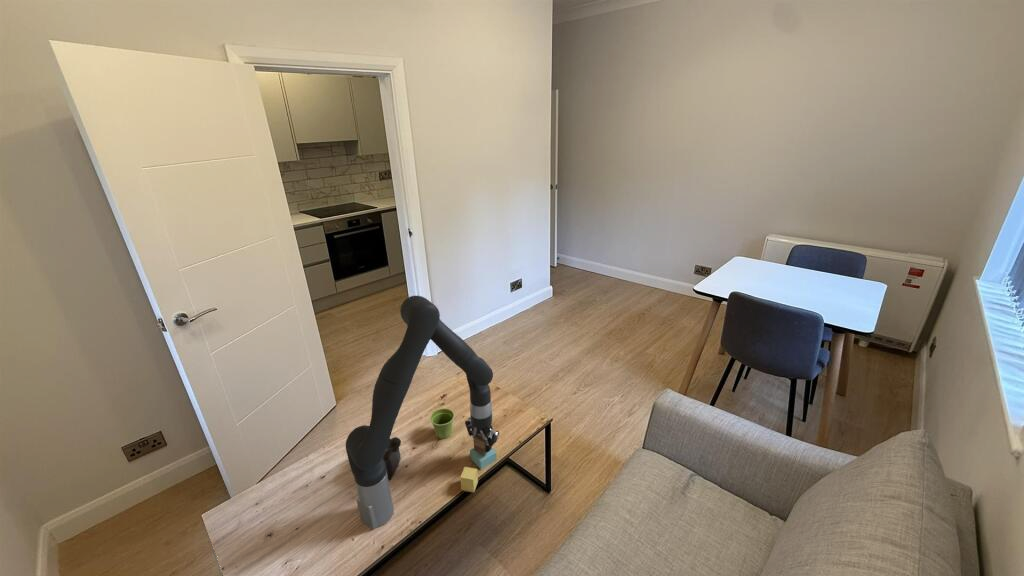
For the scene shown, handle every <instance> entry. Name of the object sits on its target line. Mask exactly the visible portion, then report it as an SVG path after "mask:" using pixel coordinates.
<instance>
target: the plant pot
mask: <svg viewBox="0 0 1024 576" xmlns="http://www.w3.org/2000/svg"><path fill="white" fill-rule="evenodd" d="M454 418H455V412H454V411H453V410H452V409H449V408H445V407H443V408H439V409H436V410H434V411H433V412H432V413H431V414H430V417H429V420H430V422H431V424H432V425H433V429H434V432H435V436H436V437H437V438H439V439H447V438H448V437H450V436H451V435H452V433H453V432H452V431H453V422H454Z"/></svg>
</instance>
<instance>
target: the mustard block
mask: <svg viewBox="0 0 1024 576" xmlns="http://www.w3.org/2000/svg"><path fill="white" fill-rule="evenodd" d="M478 473H479V472H478V468H474V467H468V466H464V467H463V471H462V472H461V475H460V490H461V491H463V492H469V493H475V491H476V488H477V486H478V483H479V475H478Z"/></svg>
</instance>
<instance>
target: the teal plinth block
mask: <svg viewBox="0 0 1024 576" xmlns="http://www.w3.org/2000/svg"><path fill="white" fill-rule="evenodd" d="M469 458H470V459H471V460H472V462H473V463H475V465H476V466H477V467H478V468H479V469H480V470H481V471H482V470H483V469H485V468H486V467H488V466H489V465H491V464H492V463H494V462H496V461H497V452H496V450H494V448H493V447H492V449H491V450H490V451H489V452H488V453H486V454H485V455H482V454H480V453H479V452H477V451H475V450H474V447H473V448H471V449H470V450H469Z"/></svg>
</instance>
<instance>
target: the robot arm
mask: <svg viewBox="0 0 1024 576" xmlns="http://www.w3.org/2000/svg"><path fill="white" fill-rule="evenodd" d="M399 309H400V310H399V311H400V316H401V319H402V321H403V323H405V325H406V331H405V334H404V336H403V339H402V341H401V343H400V345H399V347H398V348H397V350H396V351H395V352H394V353H393V354H392V355H391V356H390V357H389V358H388V359H387V360H386V361H385V363H384V364H383V365H382V368H381V369H380V371H379V374H378V376H377V380H375V384H374V387H373V390H372V391H373V393H372V401H371V402H372V404H371V415H370V423H369V425H365V424H364V425H360V426H358V427H356V428H354V429H352V430H351V431H350V432H349V433H348V436H347V438H346V441H345V451H346V454H347V459H348V463H349V467H350V470H351V473H352V475H353V477H354V481H355V482H354V483H355V486H356V490H357V495H358V497H357V498H356V505H357V508H358V513H359V517H360V521H362V522H363V523H364V524H365V525H366V526H368V527H369V528H371V529H372V530H375V529H377V528H379V527H381V526H384V525H385V524H387V522H389V521H390V520H391V518H392V517H393V516H394V515H393V514H394V504H393V499H392V494H391V488H390V487H391V486H390V482H389V481H390V480H388V475H387V469H386V464H385V461H384V459H383V457H384V455H385V452H386V450H387V446H388V443H389V439H391V436H392V432H393V429H394V426H395V423H396V420H397V418H398V415H399V412H400V410H401V407H402V404H403V403H404V399H405V398H406V396H407V394H408V391H409V388H410V386H411V383H412V381H413V378H414V375H415V373H416V370H417V369H418V366H419V364H420V361H421V360H422V357H423V354H424V352H425V350H426V348H427V346H428V344H429V342H430V340H431V341H432V342H433V343H434V344H435V345H436V346H437V347H438V349H440V351H442V353H444V355H445V356H446V357H448V358H449V360H450V361H451V362H452V363H454V365H456V366H457V367H459V368H460V369H461V370H462V371H463V372H464V374H465V377H466V380H467V384H468V388H469V400H470V401H469V402H470V403H469V410H470V411H469V414H470V417H468V418H467V420H465V421H464V424H465V427H466V430H467V433H468V436H469V437H470V436H471V437H472V438H473V440H474V437H475V436H477V434H481V435H482V437H483V440H485V443H486V452H487V453H488V452H489V451H490V450H491V449H492V448H493V446H494V444H495V443H496V442H497V441H498V438H499V436H500V431H499V430H496V431H495V430H494V429H493V426H492V422H493V406H492V404H493V403H492V400H491V399H492V396H491V395H492V394H491V388H490V383H491V382H492V381H493V378H494V372H493V369H492V368H491V367H490V366H489V364H488V363H487V362H486V361H485V359H483V358H481V357H480V356H478V354H477V353H476V352H475V351H474V349H473V348H472V347H471V346H470V345H469V344H468V343H467V342H466V341H464V340H463V339H462V338H461V337H460V336H459V335H458V334H457V333H456V332H454V331H453V330H452V329H451V327H450V328H449V326H448V325H446V323H444V322H443V321H442V319H440V318H441V315H440V310H439V308H438V306H436V305H435V304H434V303H433V302H431V301H430V300H429V299H427V298H426V297H424V296H421V295H411V296H408V297H407V298H405V299H404V300H403V302H402V303H401V304H400V308H399ZM488 438H489V440H488Z"/></svg>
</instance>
